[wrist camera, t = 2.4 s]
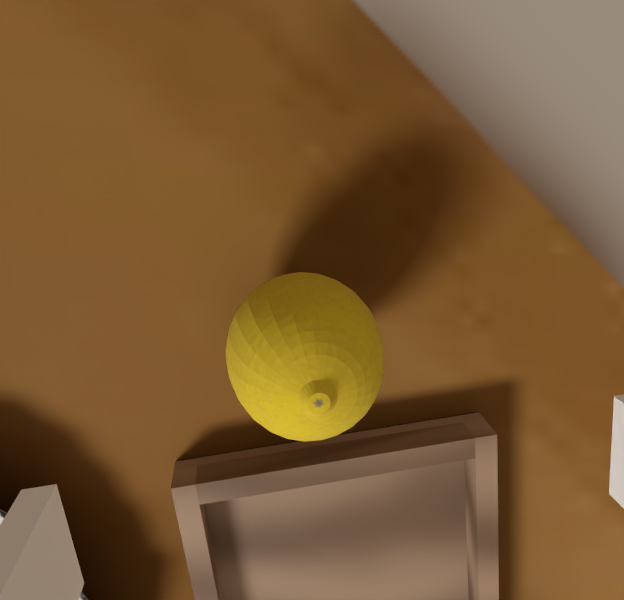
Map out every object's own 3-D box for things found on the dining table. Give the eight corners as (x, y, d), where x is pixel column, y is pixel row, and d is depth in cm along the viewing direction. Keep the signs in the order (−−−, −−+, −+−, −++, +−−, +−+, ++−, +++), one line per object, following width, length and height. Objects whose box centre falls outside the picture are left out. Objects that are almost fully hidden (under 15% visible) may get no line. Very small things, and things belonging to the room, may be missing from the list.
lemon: (362, 252, 24) (420, 315, 17) (353, 375, 26) (401, 483, 18) (227, 249, 24) (224, 313, 16) (226, 376, 25) (222, 489, 18)
